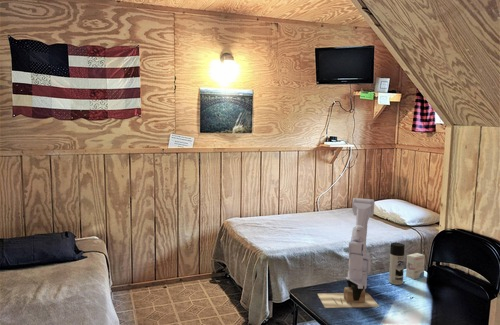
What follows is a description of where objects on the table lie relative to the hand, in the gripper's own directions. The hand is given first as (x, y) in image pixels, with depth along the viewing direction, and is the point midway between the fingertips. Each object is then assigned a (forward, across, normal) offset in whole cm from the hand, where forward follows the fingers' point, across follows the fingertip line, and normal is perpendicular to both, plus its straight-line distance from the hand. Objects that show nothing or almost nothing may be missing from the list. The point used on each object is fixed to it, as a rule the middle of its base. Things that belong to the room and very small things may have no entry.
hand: (354, 297), depth 177 cm
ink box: (+3, -31, +43) cm, 53 cm away
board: (+3, -1, -3) cm, 4 cm away
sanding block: (+1, 0, 0) cm, 1 cm away
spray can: (+3, -23, +29) cm, 37 cm away
